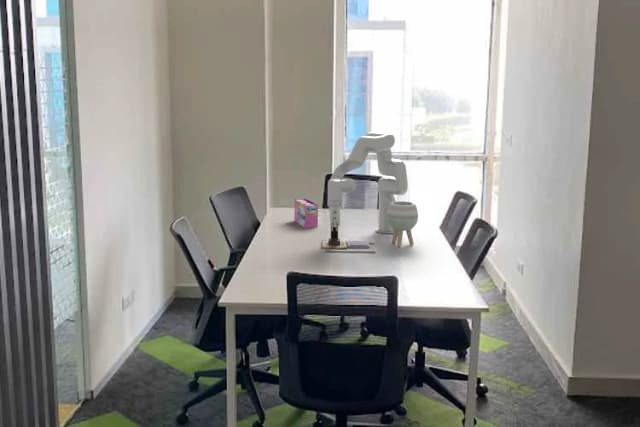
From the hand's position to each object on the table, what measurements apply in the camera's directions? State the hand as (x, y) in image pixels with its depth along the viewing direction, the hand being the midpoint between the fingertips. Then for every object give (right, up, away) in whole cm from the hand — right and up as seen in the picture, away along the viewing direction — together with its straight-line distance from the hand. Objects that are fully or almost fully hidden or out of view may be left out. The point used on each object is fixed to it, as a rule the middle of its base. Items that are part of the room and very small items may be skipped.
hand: (334, 237), depth 366 cm
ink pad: (+13, -5, +1) cm, 13 cm away
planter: (+36, -4, +4) cm, 36 cm away
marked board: (0, -4, +1) cm, 4 cm away
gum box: (-16, +6, +55) cm, 57 cm away
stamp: (0, -4, +1) cm, 4 cm away
